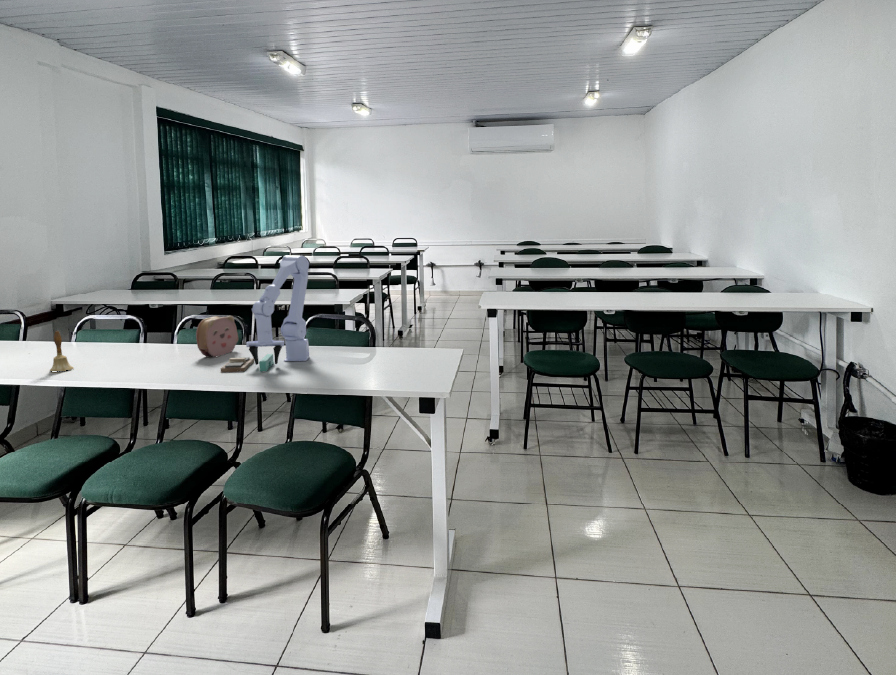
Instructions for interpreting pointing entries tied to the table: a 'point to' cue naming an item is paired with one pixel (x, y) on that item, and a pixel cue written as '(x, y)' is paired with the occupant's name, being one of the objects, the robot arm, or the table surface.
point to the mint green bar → (266, 362)
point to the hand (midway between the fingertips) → (266, 363)
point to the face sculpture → (216, 335)
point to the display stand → (237, 364)
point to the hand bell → (59, 356)
